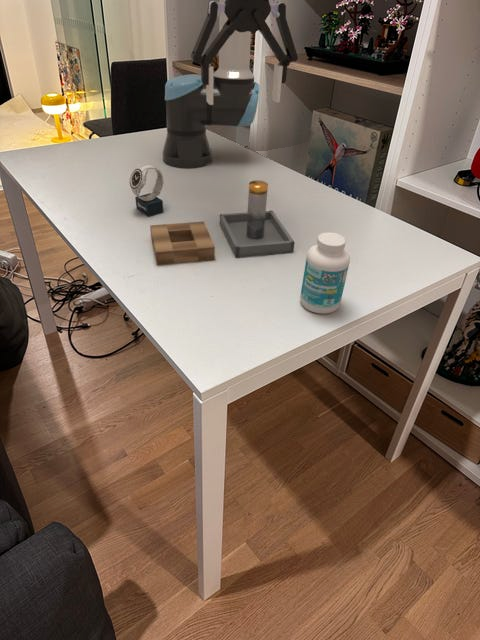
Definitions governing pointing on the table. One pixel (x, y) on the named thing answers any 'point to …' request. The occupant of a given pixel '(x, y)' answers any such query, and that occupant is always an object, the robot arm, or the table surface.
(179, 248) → the socket block
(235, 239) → the tray
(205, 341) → the table surface
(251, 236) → the pin
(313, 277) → the pill bottle
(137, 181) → the watch
